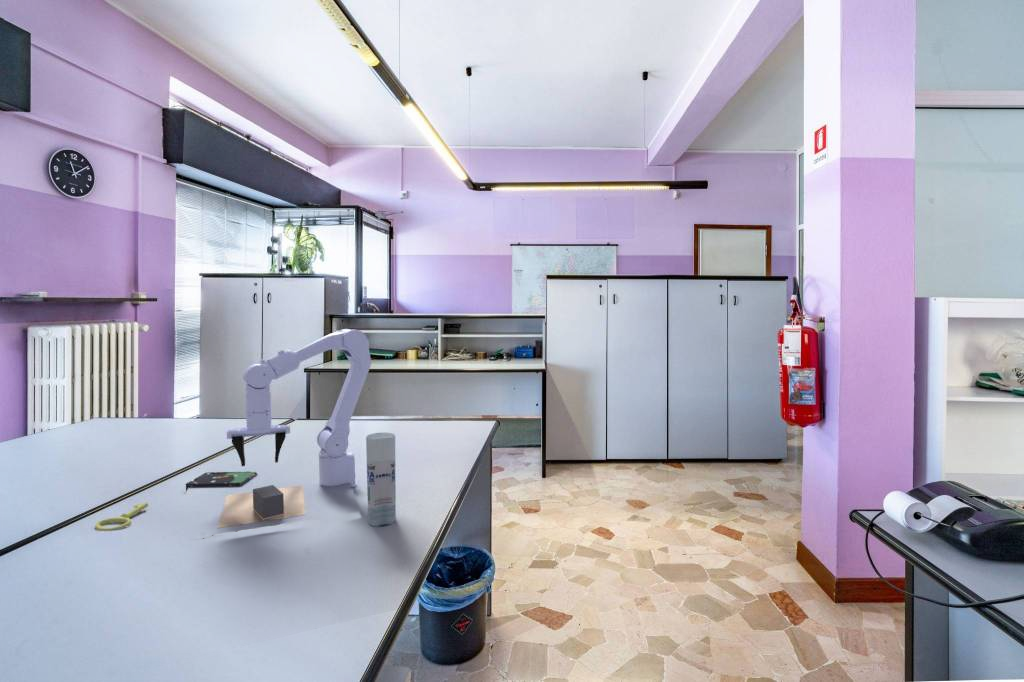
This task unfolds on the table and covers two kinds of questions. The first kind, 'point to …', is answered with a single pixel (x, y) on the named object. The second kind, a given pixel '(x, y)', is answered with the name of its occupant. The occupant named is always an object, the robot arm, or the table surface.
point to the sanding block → (268, 502)
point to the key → (121, 518)
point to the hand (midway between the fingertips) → (260, 463)
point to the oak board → (242, 512)
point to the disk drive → (221, 479)
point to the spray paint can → (381, 478)
